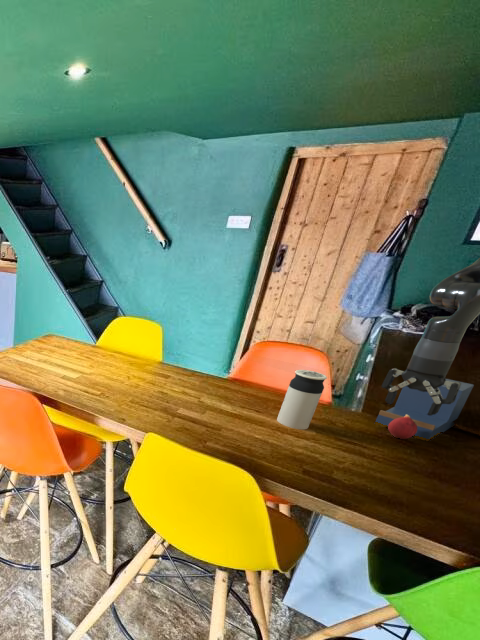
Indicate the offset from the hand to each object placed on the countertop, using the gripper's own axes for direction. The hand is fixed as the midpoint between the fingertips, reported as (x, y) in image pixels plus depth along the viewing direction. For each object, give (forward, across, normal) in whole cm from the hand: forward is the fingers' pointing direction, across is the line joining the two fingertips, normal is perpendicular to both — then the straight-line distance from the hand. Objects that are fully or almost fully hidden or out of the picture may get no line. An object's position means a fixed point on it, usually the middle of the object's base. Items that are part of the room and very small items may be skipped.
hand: (409, 409), depth 116 cm
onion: (+10, 0, 0) cm, 10 cm away
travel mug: (+10, +19, +19) cm, 28 cm away
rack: (+10, +1, -16) cm, 19 cm away
